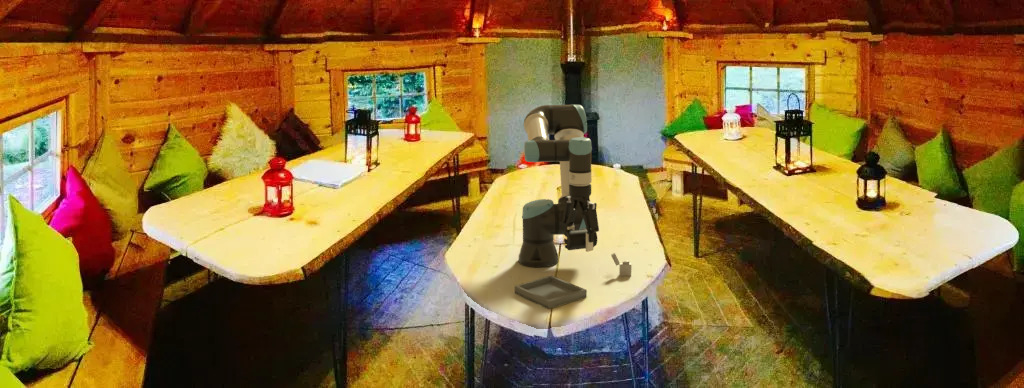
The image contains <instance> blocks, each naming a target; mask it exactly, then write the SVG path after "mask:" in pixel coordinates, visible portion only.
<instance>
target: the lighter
mask: <svg viewBox="0 0 1024 388" xmlns="http://www.w3.org/2000/svg"><path fill="white" fill-rule="evenodd" d="M610 256H611V258H612V260H613V262H614V264H615V266H616V267H617V266H619V273H618V275H619V276H620V277H632V262H630V261H629V260H622V262H620V261H619V259H618V256H617V254H616V253H615V252H614V253H612V254H611V255H610Z"/></svg>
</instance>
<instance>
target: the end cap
mask: <svg viewBox="0 0 1024 388" xmlns="http://www.w3.org/2000/svg"><path fill="white" fill-rule="evenodd" d="M590 230H591V229H590ZM586 232H587V228H580V230H577V231H574V230H573V229H570V230H568V229H567V230H565V231H564V235H563V236H565V237H566V238H564V240H563V243H565V245H564V248H565V249H567V251H576V250H582V249H583V250H586ZM597 243H598V235H597V232H595V233H594V242H593V248H595V246H597V245H598V244H597Z"/></svg>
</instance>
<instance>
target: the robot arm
mask: <svg viewBox="0 0 1024 388" xmlns="http://www.w3.org/2000/svg"><path fill="white" fill-rule="evenodd" d="M587 121H588V120H587V115H586V111H585V108H584V107H583V105H581V104H573V103H571V104H549V105H548V104H544V105H540V106H537V107H535V108H534V109H532V110H530V111H529V113H527V115H526V116H525V117H524V121H523V129H524V131H525V133H526V134H527V140H525V141H524V145H523V147H524V148H523V149H524V150H523V151H524V161H525V162H528V163H549V162H554V163H555V162H559V173H560V189H561V196H560V197H559V198H558V199H557V203H555V202H554V201H553V200H552V199H549V198H548V199H547V198H543V199H535V200H531V201H529V202H527V203H525V204H524V205H523V206H522V216H521V218H522V243H521V247H520V251H519V254H518V263H519V264H520V265H522V266H524V267H530V268H546V267H547V268H548V267H551V266H554V265H556V264H558V263H559V254H558V251H557V248H556V245H555V241H554V235H557V236H558V235H559V236H560V235H563V236H565V235H564V231H565V230H567V229H568V230H570V229H573V230H574V231H577V230H580V228H587V232H586V248H585V252H587V253H588V252H591V251H594V247H593V242H594V233H595V232H596V233H597V232H599V231H600V228H599V226H600V225H599V220H598V213H597V202H592V201H591V199H590V197H591V194H592V184H591V183H592V152H593V151H592V150H593V147H592V140H591V139H590V138H589V137H585V136H584V135H585V134H587V132H588V122H587ZM549 135H554V139H550V137H549ZM590 229H591V230H590Z"/></svg>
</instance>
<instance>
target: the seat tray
mask: <svg viewBox="0 0 1024 388" xmlns="http://www.w3.org/2000/svg"><path fill="white" fill-rule="evenodd" d="M587 293H588V291H587V289H585V288H583V287H580V286H579V285H576V284H574V283H571V282H570V281H569V282H568V281H567V280H563V279H561V278H559V277H556V276H554V275H548V276H544V277H542V278H537V279H535V280H534V279H533V280H531V281H527V282H524V283H521V284H517V285H514V294H515V295H518V296H519V297H523V298H524V299H526V300H529V301H531V302H532V303H535V304H537V305H539V306H540V307H541V306H542V307H543V308H546V309H548V310H552V309H553V308H557V307H560V306H563V305H567V304H570V303H572V302H573V303H574V302H576V301H579V300H581V299H585V298H587Z"/></svg>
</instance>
